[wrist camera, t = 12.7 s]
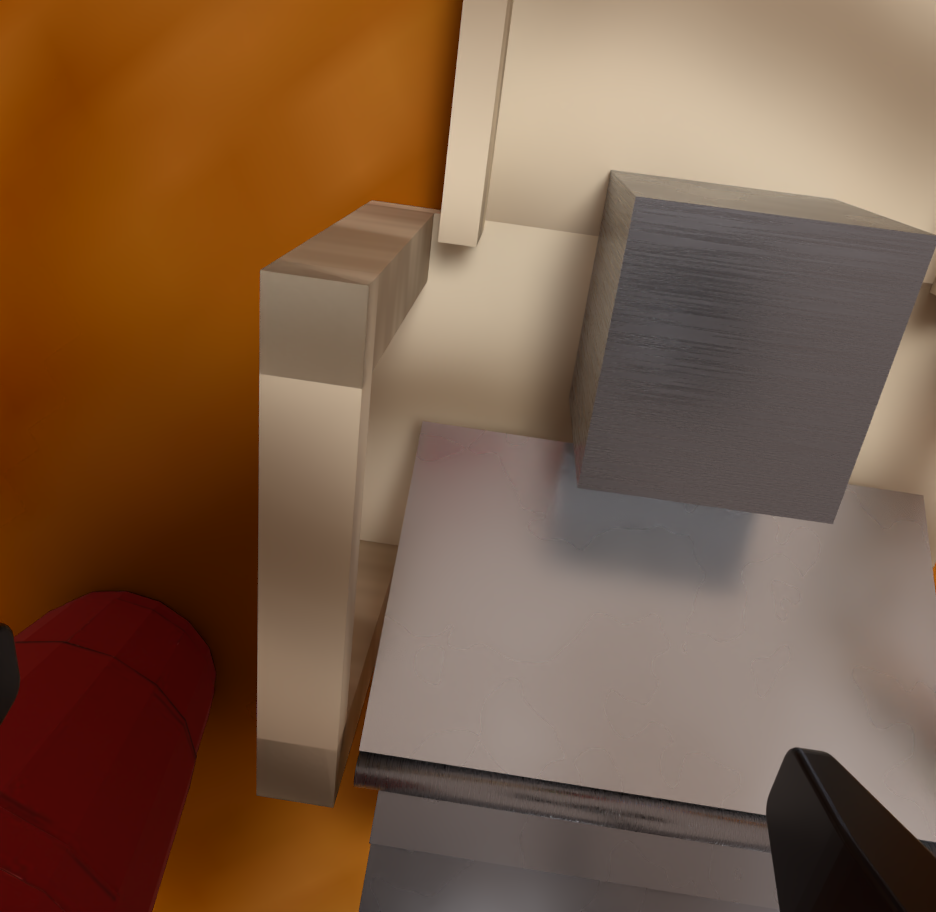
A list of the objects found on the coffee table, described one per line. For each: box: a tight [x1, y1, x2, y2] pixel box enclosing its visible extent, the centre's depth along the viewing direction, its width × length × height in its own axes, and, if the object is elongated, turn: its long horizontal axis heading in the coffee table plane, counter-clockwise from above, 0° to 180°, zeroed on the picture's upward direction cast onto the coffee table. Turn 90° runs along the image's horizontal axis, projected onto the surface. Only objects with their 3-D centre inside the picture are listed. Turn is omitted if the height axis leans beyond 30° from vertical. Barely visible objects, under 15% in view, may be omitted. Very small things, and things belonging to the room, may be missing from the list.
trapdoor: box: [354, 421, 936, 912], centre depth 18 cm, size 13×12×6 cm
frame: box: [257, 0, 936, 808], centre depth 15 cm, size 21×16×8 cm
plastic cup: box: [0, 591, 216, 912], centre depth 20 cm, size 11×11×12 cm
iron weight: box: [569, 170, 936, 524], centre depth 16 cm, size 5×5×6 cm
